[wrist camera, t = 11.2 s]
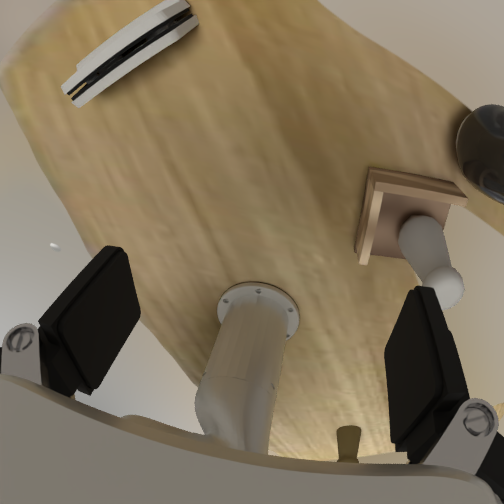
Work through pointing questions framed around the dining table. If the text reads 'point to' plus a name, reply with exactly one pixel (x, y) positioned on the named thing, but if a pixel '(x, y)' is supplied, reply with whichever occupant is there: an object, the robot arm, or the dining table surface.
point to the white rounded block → (109, 53)
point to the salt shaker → (431, 258)
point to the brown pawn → (348, 443)
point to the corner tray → (399, 208)
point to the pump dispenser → (483, 150)
